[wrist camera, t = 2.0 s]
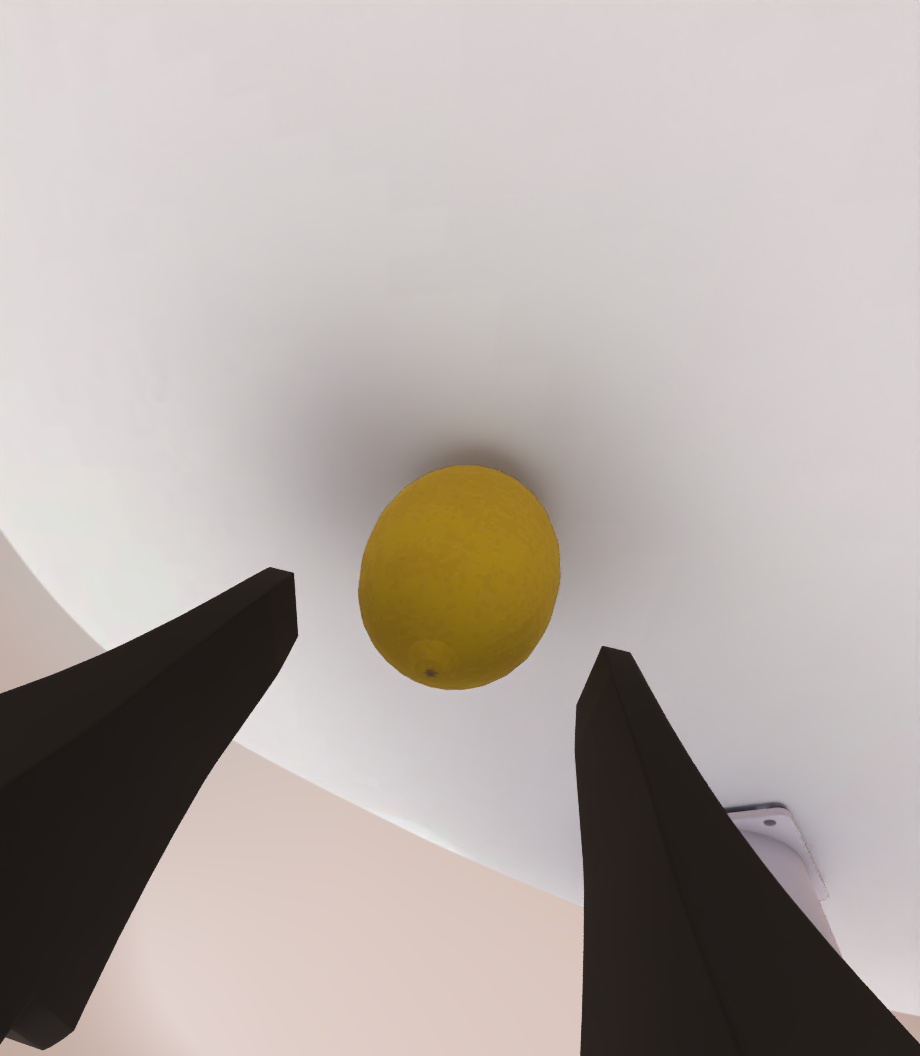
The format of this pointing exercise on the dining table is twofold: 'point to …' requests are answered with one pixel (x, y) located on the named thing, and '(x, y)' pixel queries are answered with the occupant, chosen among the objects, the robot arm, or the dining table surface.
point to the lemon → (459, 577)
